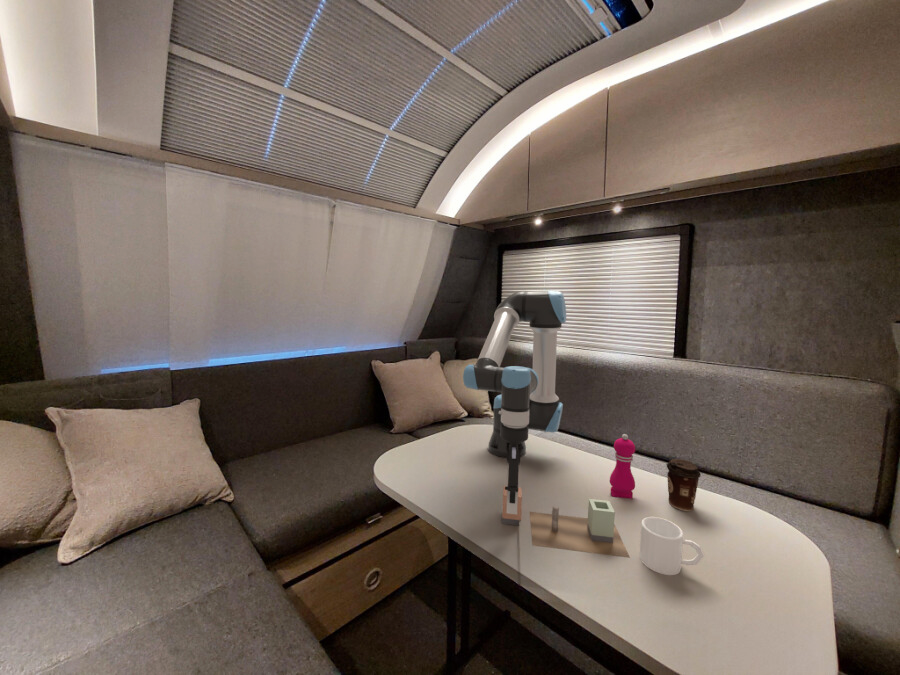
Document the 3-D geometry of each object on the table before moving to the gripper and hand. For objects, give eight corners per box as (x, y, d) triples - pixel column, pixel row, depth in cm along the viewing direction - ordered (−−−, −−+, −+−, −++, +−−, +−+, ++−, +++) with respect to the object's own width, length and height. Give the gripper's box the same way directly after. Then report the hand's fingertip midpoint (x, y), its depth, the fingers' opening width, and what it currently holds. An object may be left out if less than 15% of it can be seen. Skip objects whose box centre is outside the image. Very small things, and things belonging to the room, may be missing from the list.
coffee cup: (660, 504, 106) (663, 463, 105) (666, 494, 112) (669, 454, 111) (695, 517, 100) (698, 473, 99) (699, 505, 106) (703, 463, 105)
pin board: (529, 516, 99) (530, 491, 98) (612, 526, 95) (614, 499, 95) (532, 550, 85) (533, 521, 85) (629, 563, 82) (631, 532, 81)
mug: (700, 597, 72) (704, 552, 72) (635, 569, 80) (638, 528, 79) (703, 574, 79) (706, 532, 78) (642, 550, 86) (645, 512, 85)
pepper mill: (637, 503, 107) (641, 439, 105) (611, 500, 108) (615, 437, 106) (630, 491, 114) (634, 431, 112) (606, 488, 115) (609, 429, 113)
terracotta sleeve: (502, 512, 101) (503, 486, 100) (520, 514, 100) (521, 487, 99) (502, 523, 96) (503, 495, 95) (520, 525, 95) (521, 497, 94)
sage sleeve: (587, 528, 92) (588, 498, 91) (607, 530, 91) (609, 500, 91) (591, 540, 87) (593, 509, 86) (613, 543, 86) (614, 512, 86)
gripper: (501, 410, 108) (499, 476, 110) (498, 439, 84) (496, 524, 86) (526, 412, 107) (524, 479, 109) (531, 441, 83) (527, 528, 84)
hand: (511, 499), depth 97 cm, fingers open, 13 cm apart
